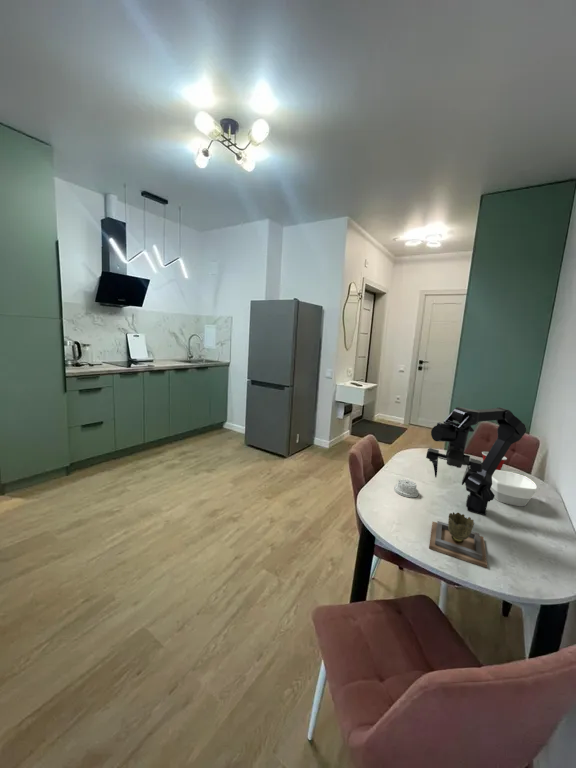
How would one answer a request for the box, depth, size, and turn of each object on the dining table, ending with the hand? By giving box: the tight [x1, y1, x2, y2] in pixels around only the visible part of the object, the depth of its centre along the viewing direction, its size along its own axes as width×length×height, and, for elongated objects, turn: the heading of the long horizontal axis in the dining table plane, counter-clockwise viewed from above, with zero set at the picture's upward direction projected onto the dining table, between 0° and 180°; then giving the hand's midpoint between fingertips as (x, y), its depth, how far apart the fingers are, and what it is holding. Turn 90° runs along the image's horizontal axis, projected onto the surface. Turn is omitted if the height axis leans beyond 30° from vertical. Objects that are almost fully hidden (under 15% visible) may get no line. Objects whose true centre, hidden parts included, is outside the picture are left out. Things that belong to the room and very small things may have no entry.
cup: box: [447, 511, 475, 543], centre depth 109 cm, size 8×7×8 cm
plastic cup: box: [481, 451, 508, 470], centre depth 166 cm, size 11×11×12 cm
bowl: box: [490, 469, 538, 507], centre depth 145 cm, size 18×18×9 cm
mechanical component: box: [393, 478, 419, 498], centre depth 143 cm, size 10×4×10 cm
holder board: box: [428, 520, 488, 569], centre depth 110 cm, size 16×16×2 cm
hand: (448, 480), depth 127 cm, fingers open, 9 cm apart
